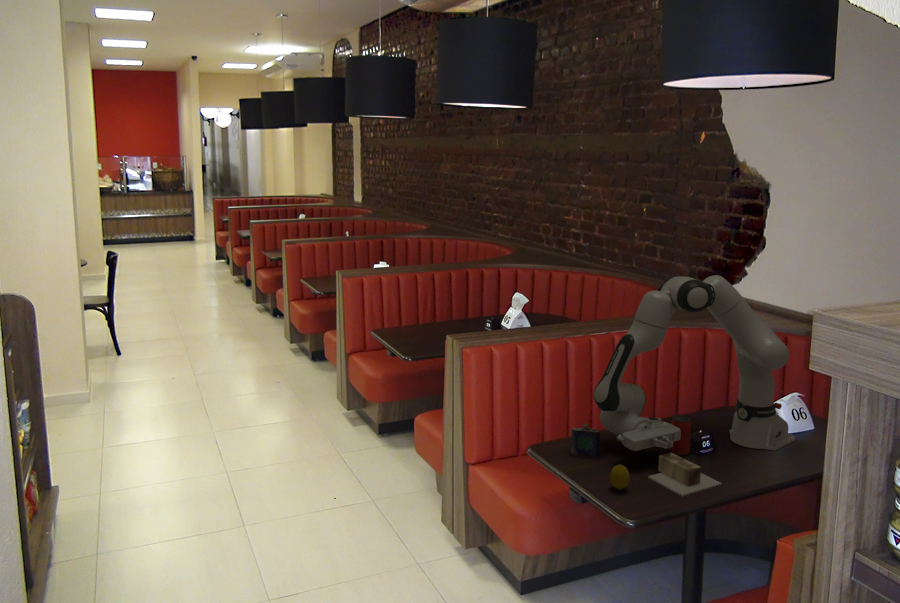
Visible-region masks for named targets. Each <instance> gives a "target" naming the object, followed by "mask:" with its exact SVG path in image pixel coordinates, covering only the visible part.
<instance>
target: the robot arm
mask: <svg viewBox="0 0 900 603" xmlns="http://www.w3.org/2000/svg"><path fill="white" fill-rule="evenodd" d="M705 309H707V310H708V311H709V313H710V314H711V315H712V317H713V318H714V319H715V321H716V322H717V323H718V324H719V325H720V326H721V328H722V329H723V330H724V332H725V333H726V334H727V335H729V337H730V338H731V339H732V344H733V346H734V348H735V354H736V359H737V360H736V361H737V367H738V368H737V369H738V373H739V374H738V375H739V376H738V377H739V378H738V379H739V382H738V383H739V384H738V398H737V399H736V403H735V406H736V407H735V410H736V411H735V412H734V414H733V420H732V426H731V428H730V429H729V432H728V433H729V434H730V437H729V440H731V441H732V442H733V443H734V444H737V445H738V446H742V447H745V448H750V449H758V450H769V451H778V450H780V449H781V448H783V447H785V446H788V445H790V444H791V443H793V442H796V437H795V436H794V435H793V434H791V433H789V424H788V422H787V421H786V420H785V419H784V418H783V417H781V416H780V415H779V414H778V412H777V410H781V409H782V407H783V406H782V403H779V402H774V401H775V400H774V398H775V386H776V381H775V377H774V376H773V373H772V372H773V370H774V371H775V370H779V369H781V368H783V367H784V366H785V365H786V364H787V363H788V361H789V359H790V351H789V347H787V345H786V344H785V343H784V342H783V340H781V338H780V337H778V335H777V333H775V332H774V331H773V329H771V327H769V326H768V324H766V322H764V320H763V319H761V318H760V316H758V314H757V313H756V312H755V311H754V310H753V309H752V307H751V306H750V305H749V304H748V302H747V301H746V300H745V299H744V298H743V296H742V295H741V293H740V292H739V291H738V290H737V289H736V288H735V286H733V285H732V284H731V283H730V282H729V281H728V280H727V279H726V278H724V277H723V276H721V275H719V274H718V275H717V274H715V275H709V276H708V277H706V278H705V279H703V280H699V279H696V278H694V277H691V276H690V277H689V276H683V275H673V276H669V277H668V278H666V279H665V280H664V281H663V283H662V284H661V285H660V287H658V288H657V289H656V290H651V291H648V292H646V293H645V294H644V296H643V297H642V299H641V301H640V303H639V305H638V308H637V310H636V313H635V316H634V319H633V322H632V324H631V326H630V328H629V330H628V331H627V332H626V334H624V335H623V336H622V337H621V338H619V340H618V342H617V345H616V346H615V348H614V350H613V352H612V355H611V357H610V360H609V362H608V364H607V366H606V368H605V370H604V372H603V374H602V376H601V378H600V380H599V381H598V382H597V384H596V386H595V388H594V390H593V400H594V402H595V404H596V406H597V407H598V409H599V410H600V413H599V420H600V423H601V425H602V426H603V428H605V430H607V431H609V432H610V433H612V434H613V435H616V440H617V441H619V442H621V444H622V446H624V447H625V448H627V449H629V450H630V451H635V452H637V451H642V450H644V449H650V448H653V447H657V448H663V449H664V450H667V449H669V448H671V447H673V442H674V441H678V440H680V438H681V430H680V429H679V428H678V427H676V426H674V425H672V424H671V422H670V423H669V422H667V421H662V418H660V417H646V416H644V417H643V416H642V414H643V411H644V409H645V406H646V403H647V402H646V401H647V397H646V393H645V391H644V389H643V388H642V386H640V385H639V384H635V383H634V384H633V383H630V382H629V383H628V382H621V381H622V379H623V376H624V374H625V372H626V370H627V368H628V366H629V363H630V361H631V360H632V359H634V357H635V358H636V356H638V355H640V354H643V353H646V352H650V351H653V350H655V349H657V348H658V347H660V346H661V345H662V344H663V342H664V339H665V338H666V335H667V331H668V327H669V325H670V320H671V319H672V316H674V314H675V312H677V311H678V310H680V311H685V312H687V313H699V312H701V311H704V310H705Z"/></svg>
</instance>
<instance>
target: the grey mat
mask: <svg viewBox="0 0 900 603" xmlns="http://www.w3.org/2000/svg"><path fill="white" fill-rule="evenodd" d="M647 479H649V480H650V481H653V482H655V484H656V483H657V484H658V485H659V486H661V487H664V489H665V488H666V489H667V490H669V491H671V492H672V493H675V494H676V495H678V496H680V497H681V498H683V497H686V496H689V495H692V494H696V493H700V492H703V491H707V490H711V489H714V488H716V486H717V487H721V486H722V485H723V483H722V482H720V481H718V480H716V479H714V478H712V477H710V476H708V475H707V474H704V473H702V472H701V476H700V483H696V484H693V485H689V486H686V485H685V484H683V483H681V482H679V481H677V480H675V479H673V478H671V477H669V476H667V475H665V474H664V473H662V472H659V473H655V474H651V475H648V476H647ZM713 487H714V488H713Z"/></svg>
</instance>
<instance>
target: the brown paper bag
mask: <svg viewBox="0 0 900 603" xmlns="http://www.w3.org/2000/svg"><path fill="white" fill-rule="evenodd" d="M658 472H659V473H664V474H665V475H667V476H669V477H671V478H673V479H675V480H677V481H679V482H681V483H683V484H685V485H686V486H689V485H693V484H696V483H700V476H701V473H702V468H701V466H699V465H697V463H694V462H691V461H689V460H687V459H685V458H684V457H681V456H680V455H676V454H673V453H671V452H668V453H664V454H661V455H659V456H658Z"/></svg>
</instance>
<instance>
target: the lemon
mask: <svg viewBox="0 0 900 603" xmlns="http://www.w3.org/2000/svg"><path fill="white" fill-rule="evenodd" d="M609 478H610V479H609V480H610V483H611V485H612V486H613V487H614V488H615V489H617V490H618V491H621V490H622V489H625V488H626V487H627V486H629V484H630V472H629V470H628V468H627V467H626V466H624V465H622V464H618V465H615V466H613V467H612V469H611V471H610V476H609Z"/></svg>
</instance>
